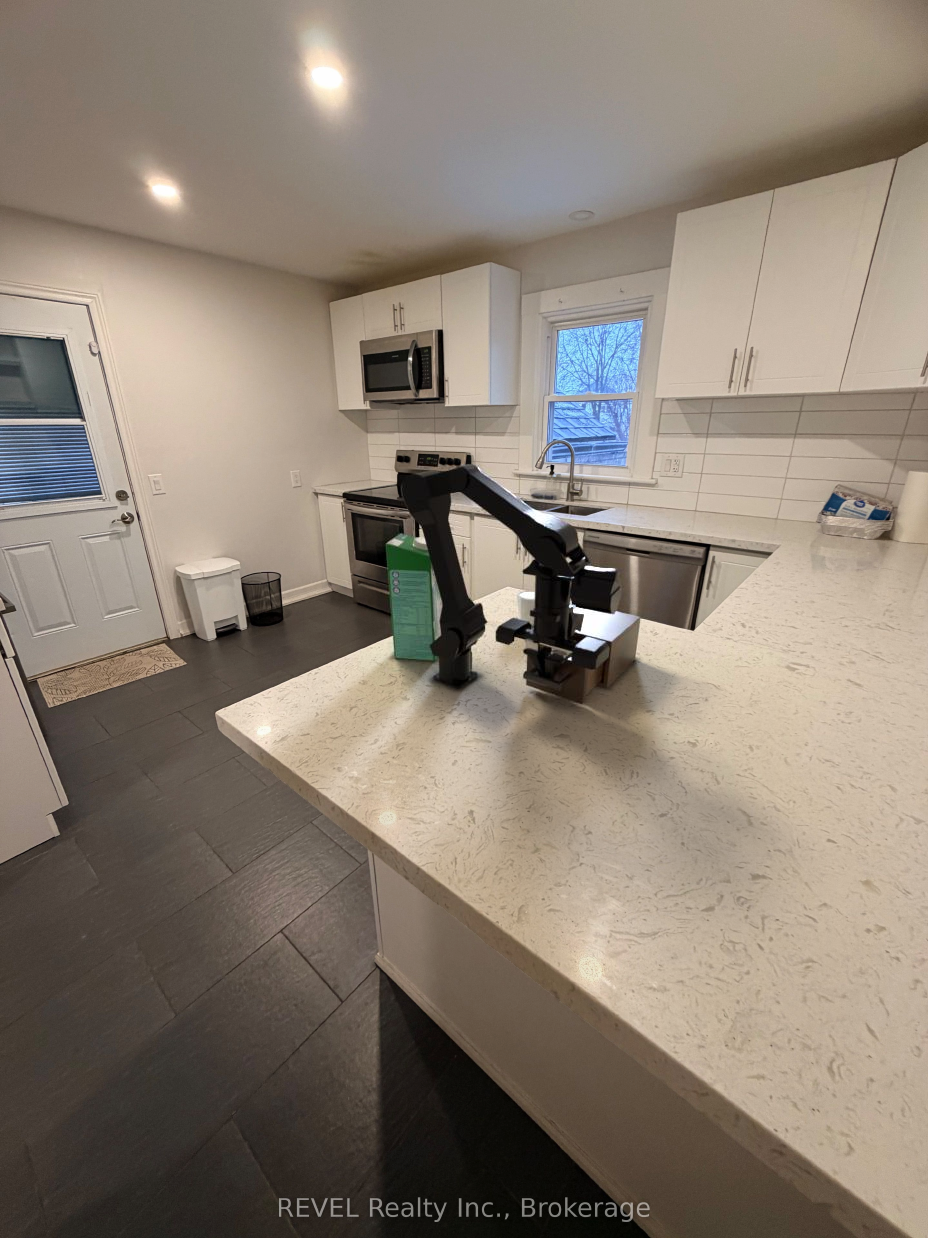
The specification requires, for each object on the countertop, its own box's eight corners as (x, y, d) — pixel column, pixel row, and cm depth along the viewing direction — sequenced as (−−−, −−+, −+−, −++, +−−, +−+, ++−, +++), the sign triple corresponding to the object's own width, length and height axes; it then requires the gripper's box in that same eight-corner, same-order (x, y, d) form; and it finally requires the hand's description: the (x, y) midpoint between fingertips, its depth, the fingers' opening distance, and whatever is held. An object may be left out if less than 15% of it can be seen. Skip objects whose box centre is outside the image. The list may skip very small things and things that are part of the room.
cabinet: (606, 688, 92) (612, 641, 89) (547, 669, 100) (549, 625, 96) (635, 659, 103) (640, 616, 99) (579, 643, 110) (582, 603, 106)
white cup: (542, 616, 125) (544, 590, 123) (544, 627, 119) (545, 599, 116) (515, 615, 126) (516, 589, 123) (515, 626, 120) (516, 599, 117)
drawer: (569, 718, 82) (572, 676, 79) (511, 696, 89) (512, 657, 86) (613, 674, 95) (617, 637, 92) (560, 658, 102) (562, 623, 99)
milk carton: (435, 661, 104) (430, 544, 94) (394, 657, 105) (385, 542, 96) (445, 643, 112) (441, 533, 102) (407, 640, 113) (399, 532, 104)
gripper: (626, 599, 81) (617, 682, 87) (528, 579, 91) (525, 654, 97) (598, 621, 72) (590, 711, 79) (493, 596, 83) (493, 677, 89)
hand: (547, 685), depth 86 cm, fingers closed, pressing on drawer
